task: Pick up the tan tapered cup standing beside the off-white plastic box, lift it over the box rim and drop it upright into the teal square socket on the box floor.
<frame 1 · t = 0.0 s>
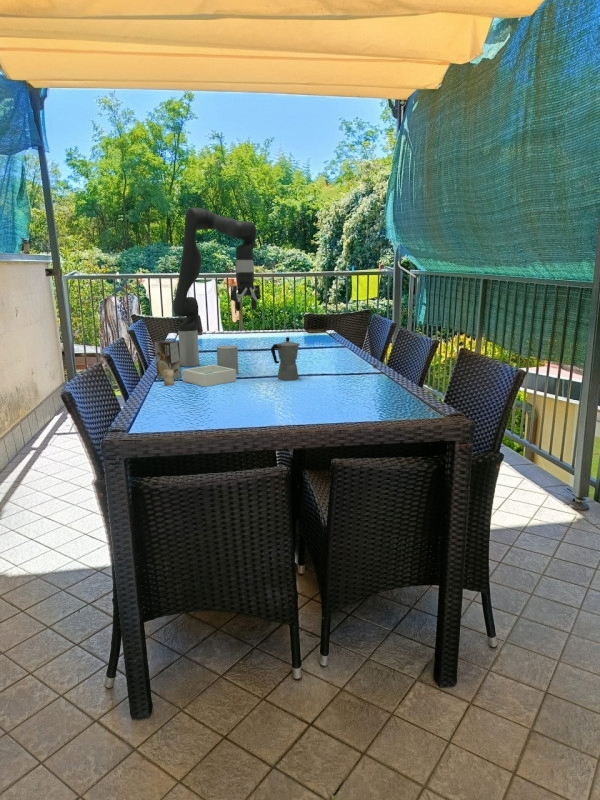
hand: (246, 310, 235), 29 cm above the table, fingers open, 8 cm apart
gray cylinder: (228, 374, 251), on the table
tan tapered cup: (169, 384, 228), on the table
coffeepot: (286, 379, 239), on the table
box: (209, 381, 235), on the table
coffee box: (169, 378, 242), on the table
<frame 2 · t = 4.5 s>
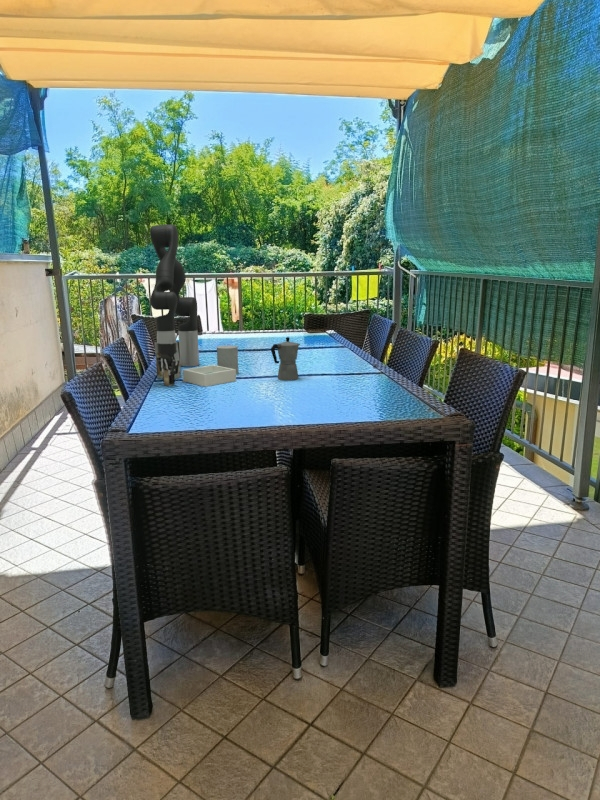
hand: (169, 382, 228), 1 cm above the table, fingers closed on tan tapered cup, 4 cm apart
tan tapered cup: (169, 384, 228), on the table, touching gripper
everything else where it was.
when the fingers open (4 cm above the table, at t = 10.9 s): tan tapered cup drops 2 cm, resting on box.
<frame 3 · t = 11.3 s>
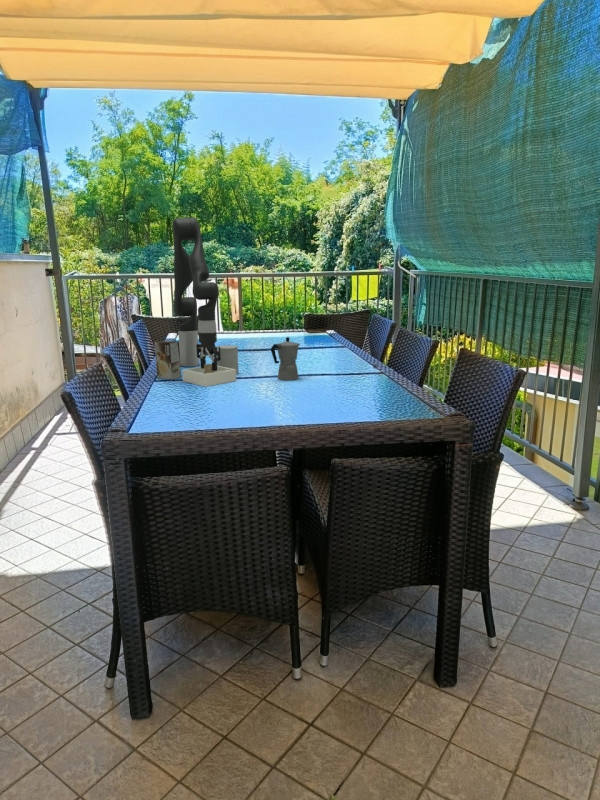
hand: (209, 369, 234), 5 cm above the table, fingers open, 7 cm apart
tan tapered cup: (209, 378, 234), point 1 cm above the table, touching box
everything else where it was.
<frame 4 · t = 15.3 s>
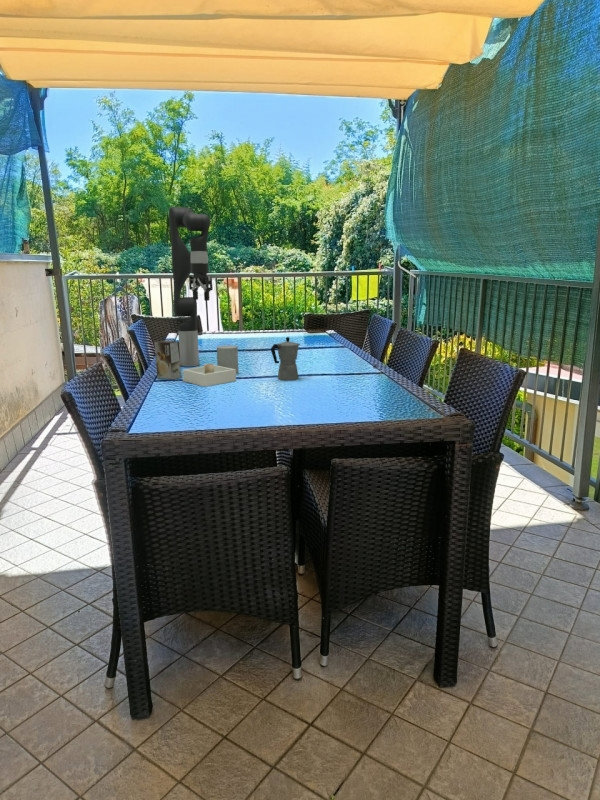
hand: (201, 300, 243), 33 cm above the table, fingers open, 8 cm apart
nothing on the table moved.
at the end: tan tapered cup 0.1 cm off-centre on the box, point 1.1 cm above the box's base; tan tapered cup tilted 3°; the gripper is holding nothing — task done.
